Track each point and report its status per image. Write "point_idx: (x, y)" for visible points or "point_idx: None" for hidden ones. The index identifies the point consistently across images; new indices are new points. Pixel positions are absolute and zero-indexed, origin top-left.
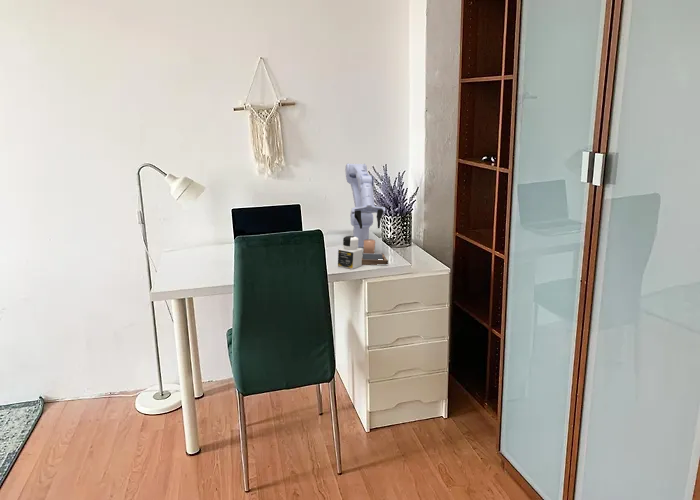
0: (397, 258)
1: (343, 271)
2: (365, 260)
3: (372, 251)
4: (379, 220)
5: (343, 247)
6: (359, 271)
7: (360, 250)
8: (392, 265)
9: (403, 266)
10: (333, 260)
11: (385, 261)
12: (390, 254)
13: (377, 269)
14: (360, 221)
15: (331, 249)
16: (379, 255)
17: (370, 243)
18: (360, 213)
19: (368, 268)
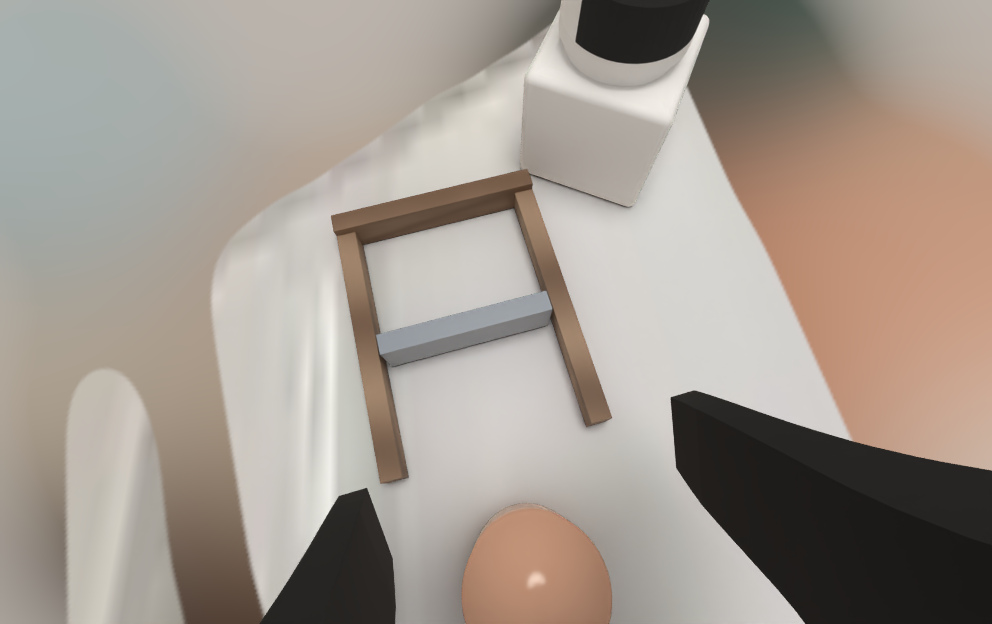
0: (259, 467)
1: None
2: (498, 177)
3: (488, 522)
4: (310, 577)
5: (688, 60)
6: (509, 61)
7: (534, 59)
8: (310, 242)
9: (233, 241)
10: (740, 234)
11: (353, 215)
12: None
13: (408, 126)
14: (765, 420)
15: None
16: (404, 330)
17: (512, 515)
18: (984, 531)
19: (466, 129)
